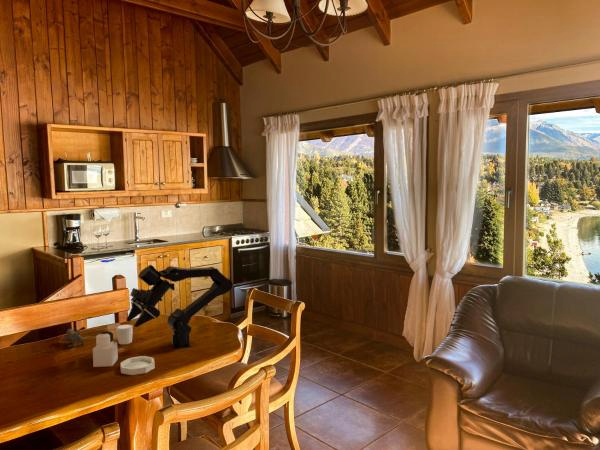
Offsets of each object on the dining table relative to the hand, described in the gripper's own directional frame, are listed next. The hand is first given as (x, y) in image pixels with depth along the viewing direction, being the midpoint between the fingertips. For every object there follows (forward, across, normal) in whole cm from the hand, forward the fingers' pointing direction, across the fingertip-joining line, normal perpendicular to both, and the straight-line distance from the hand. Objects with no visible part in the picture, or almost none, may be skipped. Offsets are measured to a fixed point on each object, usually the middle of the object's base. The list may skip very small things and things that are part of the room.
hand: (130, 323), depth 182 cm
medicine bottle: (+17, 0, +3) cm, 17 cm away
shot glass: (+7, -19, +12) cm, 24 cm away
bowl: (+11, +13, +8) cm, 19 cm away
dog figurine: (+20, -30, -1) cm, 37 cm away
